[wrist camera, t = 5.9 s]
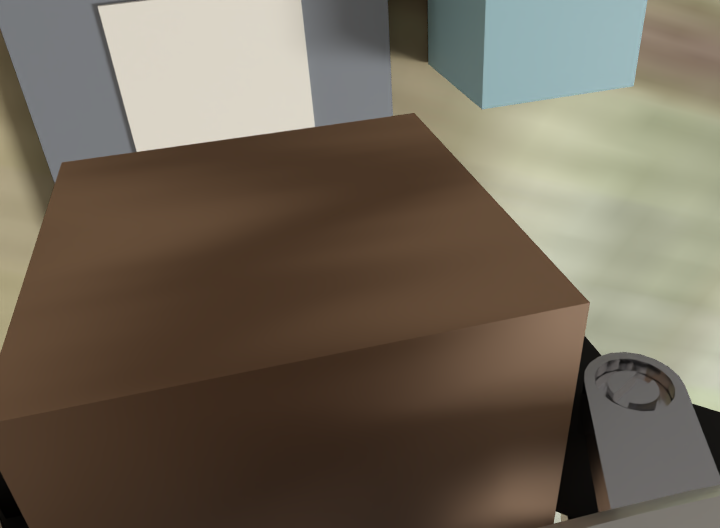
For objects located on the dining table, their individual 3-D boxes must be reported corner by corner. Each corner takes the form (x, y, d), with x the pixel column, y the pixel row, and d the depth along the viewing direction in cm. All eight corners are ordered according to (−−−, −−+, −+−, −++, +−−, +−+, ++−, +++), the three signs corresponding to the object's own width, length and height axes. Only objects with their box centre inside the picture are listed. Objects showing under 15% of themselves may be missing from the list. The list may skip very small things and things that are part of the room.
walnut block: (414, 113, 12) (589, 302, 7) (416, 367, 15) (537, 619, 10) (61, 162, 11) (-23, 425, 6) (144, 424, 14) (135, 734, 9)
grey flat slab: (374, -150, 24) (382, -149, 23) (391, 215, 32) (398, 227, 31) (-41, -114, 22) (-51, -112, 21) (91, 269, 30) (88, 283, 29)
